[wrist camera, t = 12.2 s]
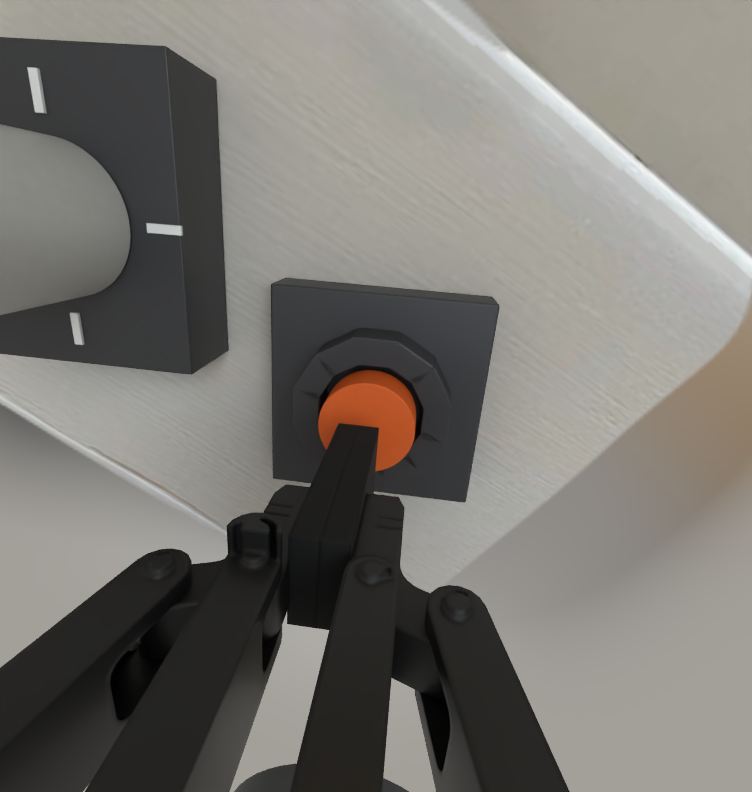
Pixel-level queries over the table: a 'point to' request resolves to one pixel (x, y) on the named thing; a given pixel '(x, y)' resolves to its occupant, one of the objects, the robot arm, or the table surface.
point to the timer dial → (56, 222)
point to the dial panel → (130, 200)
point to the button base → (387, 352)
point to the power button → (372, 412)
